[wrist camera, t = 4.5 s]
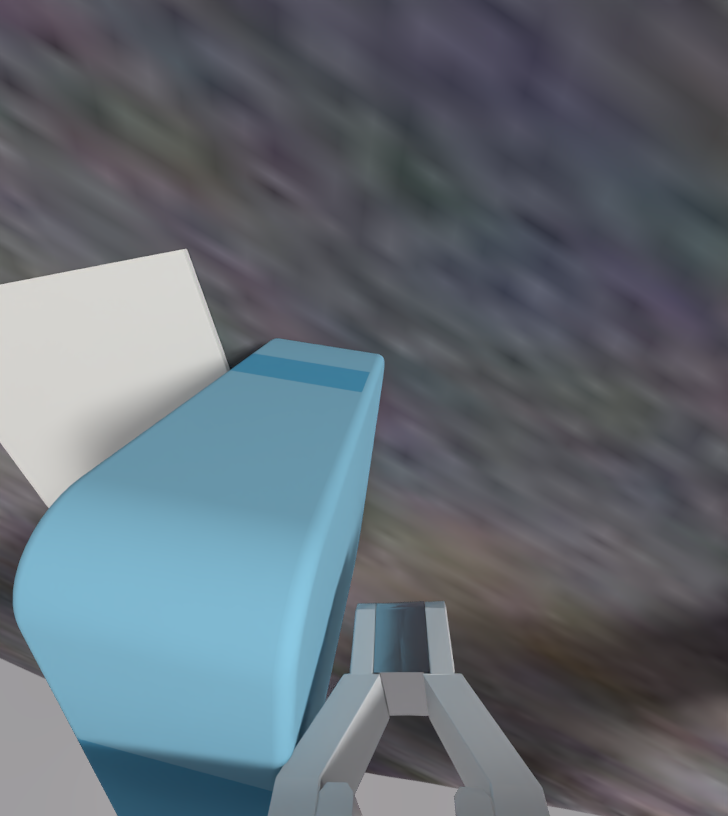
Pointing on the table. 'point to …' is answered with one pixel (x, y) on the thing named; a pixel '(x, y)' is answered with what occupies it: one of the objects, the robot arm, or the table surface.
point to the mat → (99, 361)
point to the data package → (207, 582)
